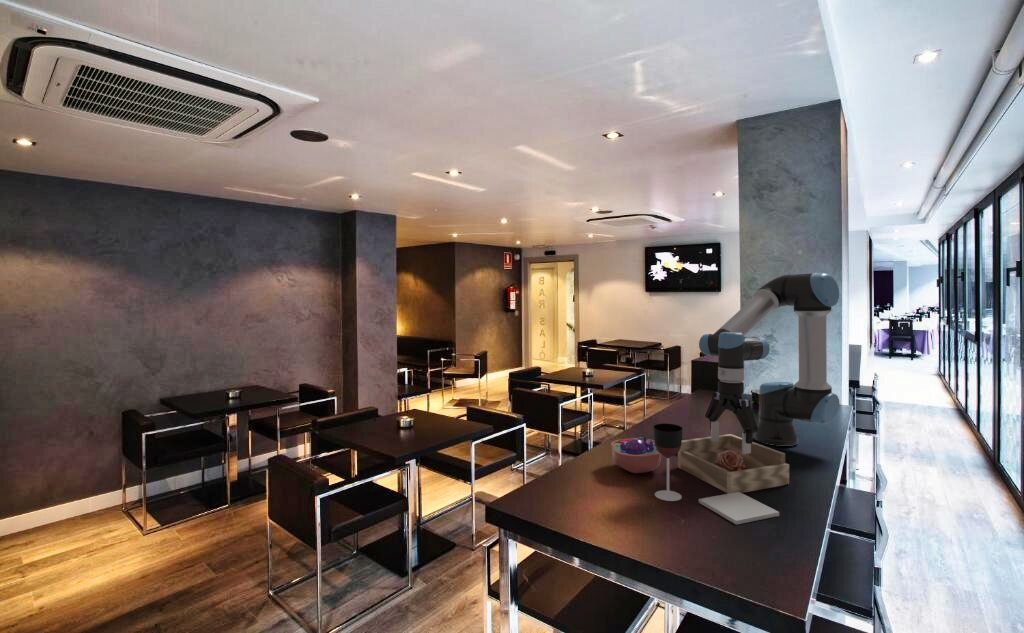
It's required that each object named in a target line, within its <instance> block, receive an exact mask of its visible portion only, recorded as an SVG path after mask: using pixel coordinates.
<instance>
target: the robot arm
mask: <svg viewBox="0 0 1024 633" xmlns="http://www.w3.org/2000/svg"><path fill="white" fill-rule="evenodd" d="M839 299H840V288H839V285H838V282H837V281H836V279H835V278H834V276H832V275H831V274H829V273H822V272H821V273H819V272H818V273H817V272H813V273H797V274H796V273H795V274H785V275H784V274H783V275H780V276H777V277H776V278H773V279H772V280H769V281H768V282H766V283H765V284H763V285H762V286H760V288H758V289H757V290H756V291H755V292H754V294H753V297H752V298H751V299H750V300H749V301H747V303H746V304H745V305H744V306H743V307H741V308H740V309H739V310H738V311H737V312H736V313H735V314H734V315H733V316H732V317H730V318H729V319H728V320H727V321H726V322H725V323H724V324H723V325H722V326H720V327H719V328H718V329H717V330H716V331H715V332H714V333H713V334H712V333H707V334H706V333H705V334H703V335H702V336H701V337H700V339H699V341H698V348H699V351H700V352H701V353H702V354H703V355H706V356H711V357H717V358H718V364H717V369H718V370H717V379H718V381H717V391H716V392H712V393H711V400H710V403H709V404H708V408H707V410H706V413H705V415H704V417H705V419H708V421H709V430H710V437H711V441H712V442H714V441H719V435H720V420H719V418H720V417H721V416H722V414H724V411H726V410H728V411H730V412H732V413H733V414H734V415H735V416H736V418H737V420H738V422H739V424H740V426H741V427H742V429H743V431H742V432H741V433H742V434H741V438H742V454H749V453H751V443H752V442H753V438H755V439H756V440H758V441H760V442H764V443H768V444H774V445H793V444H796V443H798V444H799V436H798V435H797V433H796V427H795V424H794V420H797V421H798V420H799V421H803V422H805V423H811V424H816V425H825V426H826V425H828V424H831V423H832V422H833V421H834V420H835V419H836V417H837V415H838V412H839V410H840V398H839V396H838V395H837V394H836V393H834V392H832V390H833V389H832V385H830V384H829V383H828V382H827V381H828V380H827V377H828V376H827V375H828V374H827V369H828V367H827V361H828V360H827V315H828V314H830V313H831V312H832V307H834V306H836V305H837V304H838V302H839ZM785 306H790V307H791V306H792V307H793V312H794V313H795V314H796V315H797V316H798V319H797V320H798V381H796V382H795V383H793V382H791V381H772V382H764V383H762V384H760V386H759V393H758V397H759V398H758V403H759V404H758V407H759V409H758V410H759V413H758V416H759V419H758V422H757V420H756V418H755V416H754V413H753V408H752V406H751V399H749V398H748V399H743V398H742V395H743V394H744V392H745V391H744V390H745V383H744V382H743V381H744V380H745V361H746V362H747V361H759V360H763V359H765V358H767V356H768V355H769V354H770V350H771V348H770V344H769V342H768V341H767V339H766V338H764V337H761V336H752V337H751V336H746V335H747V334H748V333H749V332H750V331H751V330H752V329H753V328H754V327H755V326H756V325H757V324H758V323H759V322H760V321H762V319H764V318H765V316H767V315H768V314H769V313H770V312H771V313H772V312H774V311H776V310H777V309H778V308H780V307H785ZM755 439H754V440H755ZM756 440H755V441H756Z"/></svg>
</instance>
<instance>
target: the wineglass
mask: <svg viewBox="0 0 1024 633" xmlns="http://www.w3.org/2000/svg"><path fill="white" fill-rule="evenodd" d="M653 435H654V441H655V446H656V448H657V450H658V452H659V453H661V454H662V455H661V456H664V457H665V458H666V489H664V490H657V491H656V492H655V493H654V496H655V497H656V498H658V499H660V500H663V501H666V502H668V501H669V502H675V501H680V500H682V498H683V497H682V494H681V493H679V492H676V491H674V490H670V458H671V457H674V456H677V455H676V454H677V453H678V452H679V450H680V448H681V443H682V438H683V427H682V426H680V425H678V424H674V423H657V424H655V425H653Z"/></svg>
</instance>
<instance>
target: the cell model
mask: <svg viewBox="0 0 1024 633" xmlns="http://www.w3.org/2000/svg"><path fill="white" fill-rule="evenodd" d="M610 444H611V445H610V446H611V454H612V456H611V457H612V459H613V461H614V462H615V464H616V465H617V466H618V467H620V468H622V469H624V470H625V471H627V472H629V473H631V474H644V473H649V472H653V471H654V470H656V469H657V468H658V467H659V466H660V464H661V462H662V461H661V460H662V456H663V455H662V454H661V453H659V452H658V450H657V448H656V446H655V441H654V440H650V439H647V438H646V437H644V438H636V437H629V438H620V439H616V440H613V441H612V442H611V443H610Z"/></svg>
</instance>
